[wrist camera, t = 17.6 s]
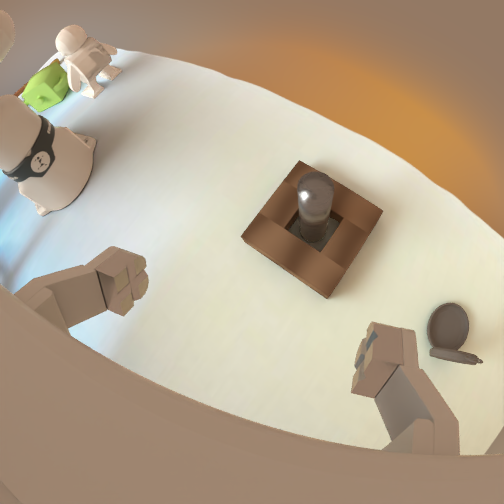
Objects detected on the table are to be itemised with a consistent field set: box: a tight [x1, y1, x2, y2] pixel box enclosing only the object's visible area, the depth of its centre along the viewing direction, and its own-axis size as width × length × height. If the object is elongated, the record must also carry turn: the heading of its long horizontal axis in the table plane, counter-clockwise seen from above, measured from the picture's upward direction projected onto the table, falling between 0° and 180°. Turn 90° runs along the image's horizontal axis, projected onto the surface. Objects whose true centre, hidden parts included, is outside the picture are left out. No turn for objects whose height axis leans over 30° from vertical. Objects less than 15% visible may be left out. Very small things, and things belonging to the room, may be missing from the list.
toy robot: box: [56, 25, 122, 99], centre depth 47 cm, size 14×9×20 cm, turn 144°
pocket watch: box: [427, 303, 483, 365], centre depth 27 cm, size 8×8×10 cm
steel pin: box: [297, 171, 334, 242], centre depth 33 cm, size 4×4×12 cm
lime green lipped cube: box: [22, 62, 69, 112], centre depth 56 cm, size 18×10×10 cm, turn 92°
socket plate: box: [241, 160, 383, 299], centre depth 37 cm, size 13×13×2 cm
